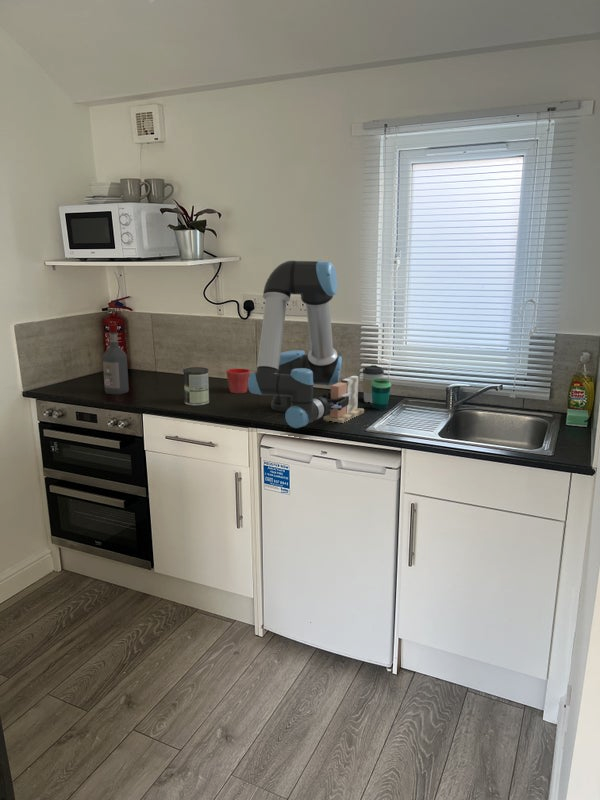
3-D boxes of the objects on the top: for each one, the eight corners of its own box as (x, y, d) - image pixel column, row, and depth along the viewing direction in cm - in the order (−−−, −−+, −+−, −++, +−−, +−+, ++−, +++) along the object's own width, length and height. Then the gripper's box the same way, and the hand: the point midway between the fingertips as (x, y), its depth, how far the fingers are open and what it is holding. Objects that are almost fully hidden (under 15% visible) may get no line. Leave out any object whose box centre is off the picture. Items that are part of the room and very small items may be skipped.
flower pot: (247, 388, 285) (246, 367, 283) (252, 393, 275) (252, 372, 273) (224, 389, 282) (224, 368, 280) (229, 395, 272) (229, 373, 269)
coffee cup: (381, 404, 259) (383, 369, 255) (360, 402, 261) (361, 368, 257) (383, 399, 267) (384, 365, 264) (362, 397, 269) (363, 364, 266)
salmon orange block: (337, 417, 231) (338, 386, 228) (330, 416, 232) (330, 385, 230) (346, 413, 237) (346, 383, 234) (338, 412, 238) (339, 382, 235)
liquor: (117, 395, 269) (112, 326, 261) (101, 392, 273) (97, 325, 266) (131, 391, 276) (128, 324, 269) (116, 388, 281) (112, 323, 273)
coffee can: (179, 403, 256) (178, 370, 253) (194, 398, 265) (193, 366, 262) (199, 406, 252) (198, 372, 248) (214, 401, 261) (213, 368, 257)
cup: (390, 406, 255) (392, 378, 252) (389, 411, 247) (390, 382, 244) (371, 405, 257) (372, 377, 254) (369, 410, 249) (370, 381, 246)
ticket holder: (342, 423, 230) (343, 385, 226) (323, 420, 233) (324, 383, 230) (363, 412, 245) (365, 377, 242) (345, 409, 249) (347, 374, 246)
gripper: (295, 415, 223) (326, 402, 242) (335, 422, 215) (364, 407, 234) (295, 395, 221) (326, 383, 241) (336, 401, 213) (364, 388, 233)
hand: (345, 395), depth 238 cm, fingers closed on salmon orange block, 3 cm apart
